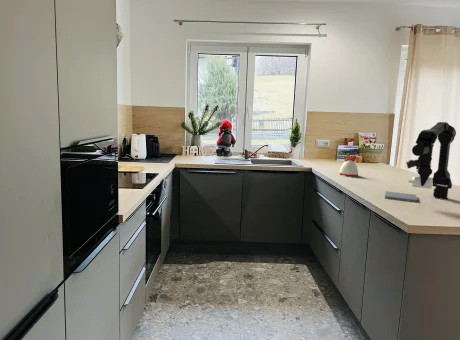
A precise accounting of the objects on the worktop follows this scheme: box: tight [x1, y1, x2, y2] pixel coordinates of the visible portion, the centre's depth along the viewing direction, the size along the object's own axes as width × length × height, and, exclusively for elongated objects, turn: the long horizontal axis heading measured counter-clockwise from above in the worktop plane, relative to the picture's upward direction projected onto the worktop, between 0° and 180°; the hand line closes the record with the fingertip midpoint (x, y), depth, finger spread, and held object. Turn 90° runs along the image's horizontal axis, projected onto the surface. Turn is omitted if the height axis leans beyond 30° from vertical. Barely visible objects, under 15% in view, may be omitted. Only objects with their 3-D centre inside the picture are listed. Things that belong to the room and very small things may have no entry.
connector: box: [408, 176, 433, 189], centre depth 189 cm, size 11×4×5 cm, turn 66°
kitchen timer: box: [338, 155, 359, 177], centre depth 281 cm, size 14×14×15 cm
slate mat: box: [384, 191, 418, 203], centre depth 205 cm, size 16×16×1 cm
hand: (421, 185), depth 189 cm, fingers closed on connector, 4 cm apart
